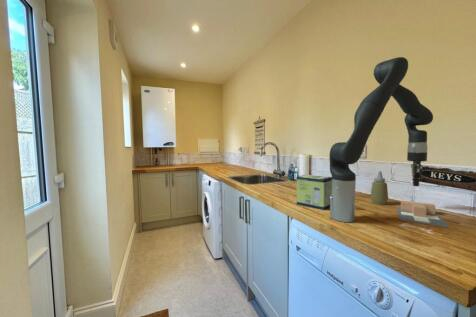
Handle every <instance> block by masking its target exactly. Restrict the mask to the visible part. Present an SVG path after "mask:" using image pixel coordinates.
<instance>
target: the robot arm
mask: <svg viewBox="0 0 476 317" xmlns="http://www.w3.org/2000/svg"><path fill="white" fill-rule="evenodd" d="M408 69H409V60H408V59H407V58H406V57H402V56H400V57H394V58H391V59H387V60H383V61H381V62H378V63H377V64H376V65H375V67H374V69H373V77H374V79H375V81H376V82H377V83H378V86H377V87H376V88H375V89H373V90H372V91H371V92H369V93H368V94H367V95H366V96H365V97H364V98H363V100H362V101H361V102H360V104H359V105H358V107H357V108H356V111H355V113H354V118H353V121H354V126H353V130H352V133H351V135H350V137H349V138H348V140H347V141H345V142H342V141H341V142H340V141H339V142H336V143H334V144H332V145H331V148H330V150H329V172H330V174H331V177H332V193H331V197H330V207H329V218H330V219H331V220H334V221H337V222H341V223H342V222H343V223H351V222H352V223H353V222H355V217H356V215H355V214H356V187H357V186H356V181H357V178H356V176H357V175H356V172H354V171H352V170H351V168H350V166H349V165H354V164H355V163H357V162H358V161H359V160H360V159H361V156H362V154H363V152H364V150H365V147H366V145H367V142H368V141H369V137H370V135H371V134H372V132H373V130H374V128H375V126H376V124H377V123H378V121H379V119H380V117H381V116H382V114H383V112H384V110H385V108H386V105H387V104H388V102H389V101H390V99H391V97H392V98H393V99H394V101H395V102H396V103H397V104H398V106H399V108H400V109H401V110H402V112H403V113H404V114H406V115H405V117H404V124H405V127H406V129H407V130H406V131H407V134H408V141H407V142H408V144H407V153H406V154H407V155H406V160H407V161H408V162H412V163H411V164H410V168H411V176H412V185H413V186H414V187H420V179H421V177H422V176H421V175H422V172H423V164H422V162H427V161H428V132H427V131H426V130H425V129H424V130H422V129H418V128H417V126H427V125H430V124H431V123H432V122H433V120H434V115H433V113H432V111H431V110H430V109H429V108H427V107H426V105H424V104H422V103H421V102H420V100H419V99H418V96H417V95H416V94H415V93H414V92H413V91H412V90H410V89H409V88H407V87H405V86H404V85H402V84H401V83H402V81H403V80H404V78H405V77H406V75H407V72H408Z"/></svg>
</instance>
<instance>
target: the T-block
mask: <svg viewBox="0 0 476 317" xmlns="http://www.w3.org/2000/svg"><path fill="white" fill-rule="evenodd" d="M400 207H401V210H402V211H410V212H412V213H413V215H414V216H419V217H426V214H433V215H435V212H436V205H435V204H434V203H428V202H427V203H426V202H417V201H408V200H400Z"/></svg>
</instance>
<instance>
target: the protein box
mask: <svg viewBox="0 0 476 317" xmlns="http://www.w3.org/2000/svg"><path fill="white" fill-rule="evenodd" d="M331 193H332V176H325V175H312V174H311V175H310V174H302V175H297V176H296V205H298V206H302V207H307V208H312V209H318V210H322V211H325V210H326V209H328V208H329V209H330V197H331Z"/></svg>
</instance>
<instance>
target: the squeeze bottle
mask: <svg viewBox="0 0 476 317" xmlns="http://www.w3.org/2000/svg"><path fill="white" fill-rule="evenodd" d="M370 189H371V190H370V194H369V195H370V200H371V203H372V204H374V205H377V206H386V205H387V202H388V200H389V193H388V192H389V191H388V183H387V182H386V178H385V177H383V173H382V171H381V170H380V171H378V173H377V175H376V177H374V181H373V182H372V183H371V188H370Z"/></svg>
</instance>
